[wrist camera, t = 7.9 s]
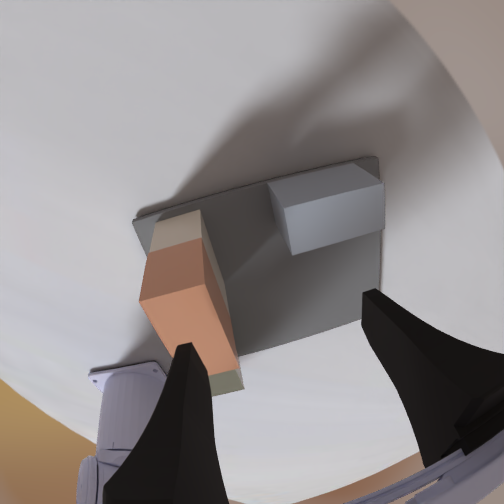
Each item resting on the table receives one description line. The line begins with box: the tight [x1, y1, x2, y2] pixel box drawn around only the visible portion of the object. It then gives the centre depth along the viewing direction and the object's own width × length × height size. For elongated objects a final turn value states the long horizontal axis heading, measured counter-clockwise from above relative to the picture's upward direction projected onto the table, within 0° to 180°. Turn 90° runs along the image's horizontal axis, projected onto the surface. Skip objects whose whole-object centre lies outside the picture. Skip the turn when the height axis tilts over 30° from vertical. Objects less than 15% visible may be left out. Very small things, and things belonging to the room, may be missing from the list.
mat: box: [132, 156, 381, 357], centre depth 24 cm, size 15×17×1 cm
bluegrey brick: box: [267, 163, 385, 255], centre depth 19 cm, size 6×3×4 cm, turn 102°
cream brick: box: [149, 209, 230, 315], centre depth 20 cm, size 6×3×4 cm, turn 12°
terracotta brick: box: [139, 238, 240, 376], centre depth 16 cm, size 6×3×4 cm, turn 12°
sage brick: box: [209, 353, 244, 396], centre depth 24 cm, size 6×3×4 cm, turn 12°
